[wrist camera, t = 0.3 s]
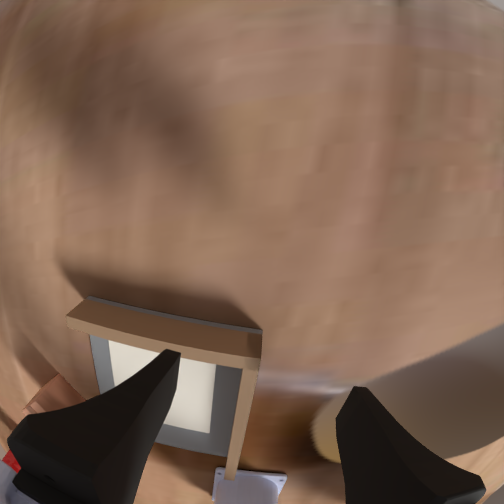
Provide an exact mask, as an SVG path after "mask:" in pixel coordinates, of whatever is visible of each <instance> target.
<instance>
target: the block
mask: <svg viewBox="0 0 504 504" xmlns="http://www.w3.org/2000/svg"><path fill="white" fill-rule="evenodd" d="M84 401H86V400H85V399H84V398H83V397H82V396H81V395H80V394H79V393H78V392H77V391H76V390H75V389H74V388H73V387H72V386H71V385H70V384H69V383H68V382H67V381H66V380H65V379H64V378H63V377H62V376H61V375H60V373H59V374H58V375H56V376H55V377H54V378H53V379H51V380H50V381H49V382H48V383H46V384H45V385H44V386H43V387H42V388H41V389H40V390H39V391H38V392H37V394H36V395H35V396H34V397H33V398H32V399H31V401H30V402H29V403H28V404H27V405H26V407H25V408H24V409H23V410H22V412H23V413H24V414H25V415H26V416H27V415H28V414H35V413H42V412H49V411H54V410H58V409H62V408H66V407H69V406H73V405H76V404H79V403H82V402H84Z"/></svg>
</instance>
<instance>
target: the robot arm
mask: <svg viewBox="0 0 504 504" xmlns="http://www.w3.org/2000/svg"><path fill="white" fill-rule="evenodd" d="M180 358H181V353H180V352H177V351H173V350H170V349H165V350H163V351H162V352H161V353H160V354H159V355H158V356H157V357H155V358H154V359H153V360H152V361H151V362H150V363H148V364H147V365H146V366H145V367H143V368H142V369H141V370H139V371H138V372H137V373H135V374H134V375H133V376H131V377H130V378H128V379H126V380H125V381H123V382H122V383H120V384H119V385H117V386H115V387H114V388H112V389H110V390H108V391H106V392H104V393H102V394H100V395H98V396H96V397H94V398H91V399H89V400H87V401H84V402H82V403H79V404H76V405H73V406H69V407H66V408H62V409H58V410H54V411H49V412H42V413H35V414H28V415H27V416H26V417H25V418H24V419H23V420H22V421H21V422H20V423H19V424H18V426H17V427H16V428H15V429H14V431H13V432H12V433H11V435H10V436H9V437H8V438H7V443H8V446H9V448H10V450H11V452H12V454H13V455H14V457H15V459H16V460H17V462H18V464H19V465H20V467H21V469H20V470H19V472H18V473H17V472H16V471H15V470H13V469H12V468H11V467H10V466H9V465H7V464H6V463H4V462H3V461H2V460H0V504H133V502H134V499H135V495H136V492H137V489H138V485H139V482H140V479H141V476H142V473H143V470H144V467H145V464H146V461H147V458H148V455H149V453H150V450H151V448H152V446H153V444H154V441H155V439H156V437H157V435H158V433H159V431H160V429H161V427H162V425H163V423H164V421H165V418H166V416H167V414H168V412H169V410H170V407H171V404H172V401H173V398H174V395H175V392H176V389H177V381H178V373H179V365H180ZM336 437H337V443H338V449H339V454H340V459H341V464H342V470H343V475H344V481H345V494H346V504H475V503H477V502H478V501H479V500H480V499H481V498H482V497H483V496H484V494H485V492H486V488H485V485H484V483H483V481H482V479H481V477H480V476H479V475H476V474H474V473H471V472H468V471H466V470H463V469H461V468H459V467H457V466H455V465H453V464H451V463H449V462H447V461H445V460H444V459H442V458H440V457H439V456H437V455H436V454H434V453H433V452H431V451H430V450H429V449H427V448H426V447H425V446H423V445H422V444H421V443H420V442H418V441H417V440H416V439H415V438H414V437H413V436H411V435H410V434H409V433H408V432H407V431H406V430H405V429H404V428H403V427H402V426H401V425H400V424H399V423H398V422H397V421H396V420H395V419H394V417H393V416H392V415H391V414H390V413H389V412H388V411H387V410H386V409H385V407H384V406H383V405H382V404H381V403H380V402H379V401H378V399H377V398H376V397H375V396H374V395H373V394H372V393H371V392H370V391H369V390H368V389H367V388H366V387H357V386H354V387H353V389H352V391H351V392H350V394H349V396H348V398H347V400H346V402H345V403H344V405H343V407H342V409H341V410H340V412H339V414H338V415H337V417H336ZM224 475H225V468H222V467H217V468H216V471H215V479H214V486H213V494H212V500H213V501H214V504H278V495H279V493H280V491H281V489H282V488H283V486H284V484H285V482H286V480H287V475H286V474H276V473H263V472H253V471H244V470H237V471H236V475H235V479H234V481H231V480H224Z"/></svg>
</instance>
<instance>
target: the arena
mask: <svg viewBox="0 0 504 504" xmlns="http://www.w3.org/2000/svg"><path fill="white" fill-rule="evenodd" d="M66 322H67V327H68V328H71V329H74V330H77V331H80V332H84V333H87V334H90V341H91V347H92V353H93V359H94V365H95V371H96V376H97V381H98V386H99V390H100V394H102V393H104V392H106V391H108V390H110V389H112V388H114V387H115V386H117V385H119V384H120V383H122V382H123V381H125V380H126V379H128V378H130V377H131V376H133V375H134V374H135V373H137V372H138V371H139V370H141V369H142V368H143V367H145V366H146V365H147V364H148V363H150V362H151V361H152V360H153V359H154V358H155V357H157V356H158V355H159V354H160V353H161V352H162V351H163V350H165V349H170V350H173V351H177V352H180V353H181V358H180V365H179V373H178V381H177V389H176V392H175V395H174V398H173V401H172V404H171V407H170V410H169V412H168V414H167V416H166V418H165V421H164V423H163V425H162V427H161V429H160V431H159V433H158V435H157V437H156V439H155V441H154V442H157V443H161V444H165V445H169V446H173V447H177V448H182V449H186V450H191V451H196V452H201V453H206V454H212V455H218V456H224V457H227V461H226V468H225V475H224V480H231V481H234V479H235V475H236V471H237V467H238V463H239V458H240V454H241V450H242V445H243V441H244V436H245V432H246V427H247V423H248V418H249V414H250V409H251V404H252V400H253V395H254V390H255V386H256V381H257V376H258V371H259V366H260V361H261V349H262V330H259V329H252V328H246V327H239V326H233V325H227V324H221V323H215V322H209V321H204V320H198V319H193V318H187V317H182V316H177V315H172V314H167V313H162V312H157V311H152V310H148V309H143V308H139V307H134V306H130V305H125V304H121V303H117V302H113V301H108V300H104V299H100V298H96V297H92V296H88V297H87V298H86V299H85V300H83V301H82V302H81V303H80V304H79V305H77V306H76V307H75V308H74V309H73V310H71V311H70V312H69V313H68V314H67V315H66Z"/></svg>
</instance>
